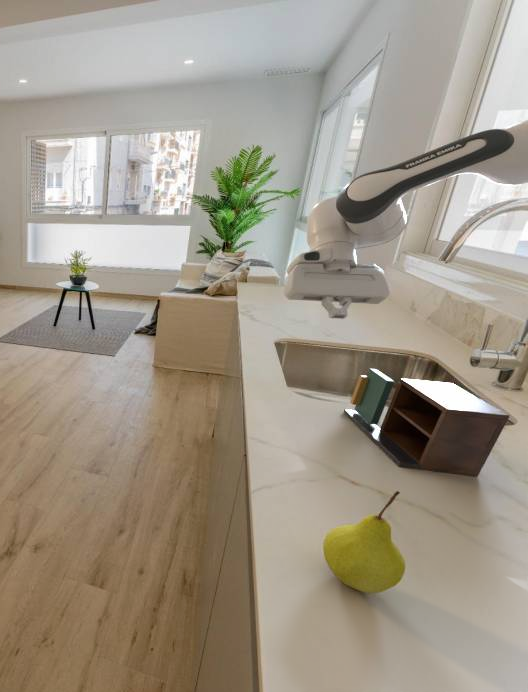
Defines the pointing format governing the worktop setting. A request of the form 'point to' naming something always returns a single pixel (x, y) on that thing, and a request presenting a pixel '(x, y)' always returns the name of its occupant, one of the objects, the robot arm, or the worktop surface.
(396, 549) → the fruit
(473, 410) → the cabinet
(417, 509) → the worktop surface
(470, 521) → the worktop surface
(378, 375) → the sliding door
